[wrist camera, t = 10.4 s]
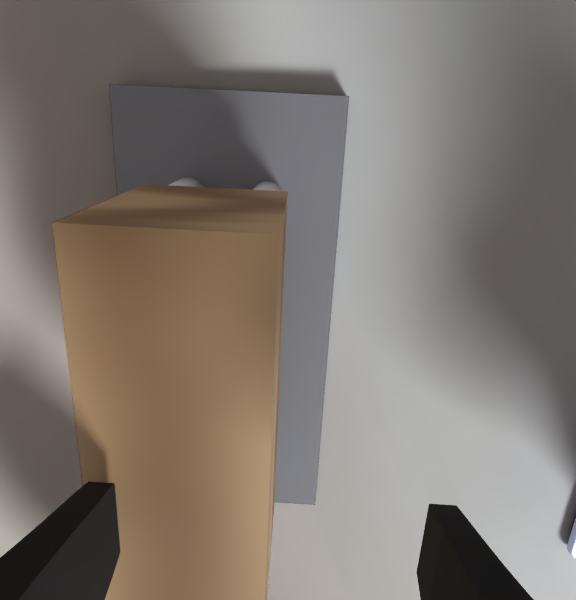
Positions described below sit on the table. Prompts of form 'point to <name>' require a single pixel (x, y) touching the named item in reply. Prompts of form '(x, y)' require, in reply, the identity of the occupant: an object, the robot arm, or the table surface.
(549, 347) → the table surface
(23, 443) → the table surface
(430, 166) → the table surface
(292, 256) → the peg plate
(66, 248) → the shelf block
